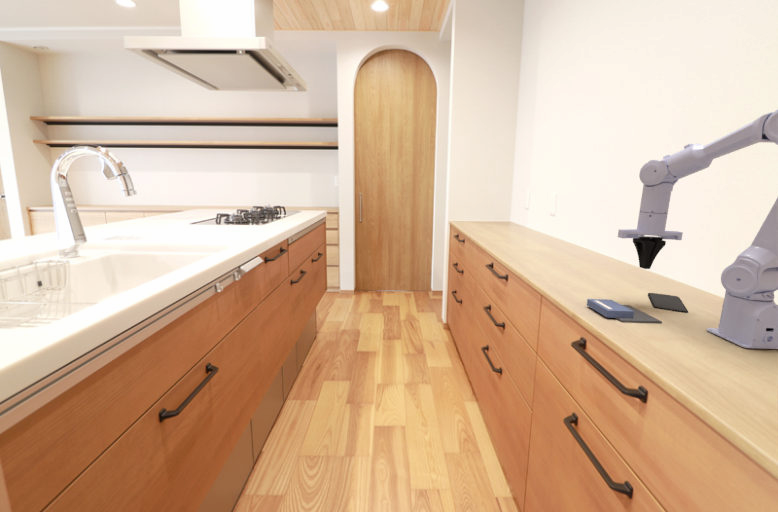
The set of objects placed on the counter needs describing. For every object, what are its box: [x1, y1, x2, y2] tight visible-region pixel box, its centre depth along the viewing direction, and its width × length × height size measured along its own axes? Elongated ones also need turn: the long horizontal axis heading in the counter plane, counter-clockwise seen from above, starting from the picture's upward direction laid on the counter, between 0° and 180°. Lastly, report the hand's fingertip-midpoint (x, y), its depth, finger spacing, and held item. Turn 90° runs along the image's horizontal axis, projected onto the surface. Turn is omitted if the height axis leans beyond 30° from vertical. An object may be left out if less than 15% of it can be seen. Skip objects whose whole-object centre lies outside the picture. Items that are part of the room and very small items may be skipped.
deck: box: [586, 298, 634, 319], centre depth 94 cm, size 9×2×6 cm
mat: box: [614, 304, 663, 324], centre depth 94 cm, size 12×9×1 cm
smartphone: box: [647, 292, 689, 314], centre depth 105 cm, size 7×1×15 cm
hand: (644, 268), depth 99 cm, fingers closed
